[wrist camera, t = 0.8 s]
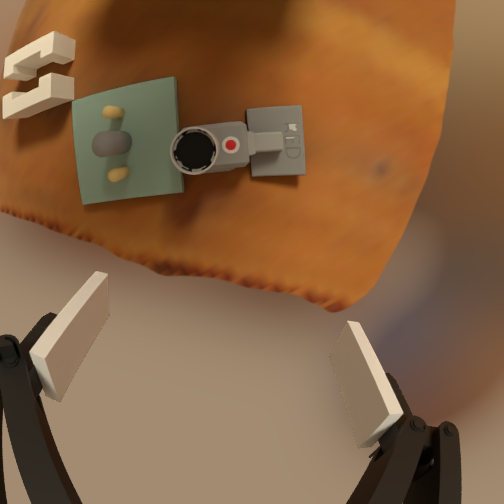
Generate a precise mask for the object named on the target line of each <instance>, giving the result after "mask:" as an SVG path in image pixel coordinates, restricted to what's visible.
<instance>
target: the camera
mask: <svg viewBox="0 0 504 504" xmlns="http://www.w3.org/2000/svg"><path fill="white" fill-rule="evenodd" d="M246 113H247V125H248V131H247V125H245V124H244V123H243V122H242V121H235V122H225V123H216V124H207V125H200V126H192V127H185V128H183V129H182V130H181V132H179V133H178V134H177V135H176V136H174V137H173V141H172V143H171V146H170V156H171V160H172V162H173V164H174V165H175V166H176V168H177V169H179V170H180V171H182V172H183V173H186V174H192V175H196V174H205V173H213V172H223V171H231V170H234V169H235V168H237V167H245V166H246V165H247V164H248V163H249V162H250V161H251V173H252V177H259V176H291V175H306V167H305V148H304V132H303V118H302V105H294V106H276V107H263V108H252V109H246ZM249 155H250V161H249Z"/></svg>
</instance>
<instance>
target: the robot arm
mask: <svg viewBox="0 0 504 504" xmlns="http://www.w3.org/2000/svg"><path fill="white" fill-rule="evenodd" d="M108 289H109V288H108V274H106V273H102V272H98V271H95V272H94V274H93V275H92V276H91V277H90V278H89V279H88V280H87V281H86V282H85V284H84V285H83V286H82V287H81V288H80V289H79V290H78V292H77V293H76V294H75V295H74V296H73V297H72V299H71V300H70V301H69V302H68V303H67V304H66V306H65V307H64V308H63V309H62V311H61V312H60V313H59V314H58V315H57V314H54V313H51V312H50V313H48V314H47V315H45V316H43V317H42V318H41V319H40V320H39V321H38V322H37V324H36V325H35V326H34V327H33V329H32V331H30V332H29V334H28V335H27V336H26V337H25V338H24V340H23V341H22V342H21V343H20V344H19V341H18V339H17V338H16V337H15V336H12V335H2V336H0V504H7V499H6V492H5V483H4V472H3V458H2V457H3V456H2V420H3V408H4V413H5V418H6V423H7V428H8V432H9V437H10V441H11V445H12V448H13V452H14V455H15V459H16V462H17V465H18V469H19V472H20V475H21V477H22V480H23V483H24V486H25V489H26V491H27V494H28V496H29V499H30V501H31V504H82V502H81V500H80V498H79V496H78V494H77V492H76V490H75V488H74V486H73V484H72V482H71V480H70V478H69V475H68V473H67V471H66V469H65V467H64V464H63V462H62V459H61V457H60V455H59V452H58V450H57V447H56V444H55V442H54V439H53V436H52V433H51V430H50V427H49V424H48V421H47V418H46V415H45V412H44V408H43V405H42V401H41V397H40V396H39V394H40V392H41V390H42V388H43V390H44V392H45V395H46V396H47V397H49V398H51V399H54V400H56V401H58V402H61V400H62V398H63V396H64V394H65V392H66V390H67V388H68V386H69V384H70V383H71V381H72V379H73V377H74V375H75V373H76V372H77V370H78V368H79V366H80V364H81V363H82V361H83V359H84V357H85V356H86V354H87V352H88V350H89V349H90V347H91V345H92V344H93V342H94V340H95V339H96V337H97V335H98V334H99V332H100V330H101V329H102V327H103V325H104V324H105V322H106V320H107V319H108V317H109V290H108ZM330 360H331V363H332V366H333V369H334V372H335V375H336V378H337V381H338V384H339V387H340V391H341V394H342V397H343V400H344V403H345V406H346V410H347V412H348V416H349V419H350V422H351V426H352V429H353V433H354V436H355V439H356V443H357V446H358V448H365V447H372V446H373V445H374V444H375V443H376V442H377V441H379V444H380V446H379V447H378V448H377V449H376V450H375V451H374V452H373V453H372V454H371V455H370V456H369V458H371V457H372V456H373V455H374V456H373V458H372V460H371V461H370V463H369V465H368V467H367V469H366V471H365V473H364V475H363V476H362V478H361V480H360V481H359V483H358V485H357V487H356V488H355V490H354V492H353V493H352V495H351V497H350V498H349V500H348V501H347V503H346V504H402V503H403V504H461V457H460V456H461V454H460V441H459V433H458V429H457V428H456V426H455V425H454V424H453V423H451V422H448V421H445V422H442V423H441V424H440V425H439V426H438V427H432V426H427V425H426V423H425V422H424V420H423V419H421V418H420V417H417V416H413V415H412V413H411V410H410V408H409V406H408V404H407V402H406V400H405V398H404V396H403V395H402V392H401V390H400V389H399V386H398V384H397V382H396V380H395V379H394V378H393V377H392V376H391V375H390V374H389V373H384V371H383V369H382V367H381V365H380V363H379V361H378V359H377V357H376V355H375V353H374V351H373V349H372V347H371V345H370V343H369V341H368V339H367V337H366V335H365V333H364V331H363V329H362V327H361V325H360V324H359V322H352V321H347V323H346V325H345V327H344V329H343V331H342V333H341V335H340V337H339V339H338V341H337V343H336V345H335V347H334V349H333V351H332V353H331V354H330ZM433 460H434V462H433Z"/></svg>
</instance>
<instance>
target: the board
mask: <svg viewBox="0 0 504 504" xmlns="http://www.w3.org/2000/svg"><path fill="white" fill-rule="evenodd" d="M72 119H73V135H74V146H75V156H76V165H77V173H78V180H79V187H80V193H81V199H82V205H86V204H92V203H99V202H106V201H113V200H121V199H128V198H136V197H145V196H154V195H163V194H173V193H183V192H184V191H185V188H184V178H183V172H182V171H180V170H179V169H177V168H176V166H175V165H174V164H173V162H172V160H171V156H170V146H171V143H172V141H173V137H174V136H176V135H177V134H178V133H179V132H180V130H179V115H178V97H177V78H175V77H174V76H173V77H167V78H162V79H156V80H151V81H146V82H141V83H136V84H132V85H128V86H123V87H119V88H115V89H112V90H108V91H104V92H101V93H97V94H94V95H90V96H87V97H84V98H81V99H78V100H75V101H72Z"/></svg>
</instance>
